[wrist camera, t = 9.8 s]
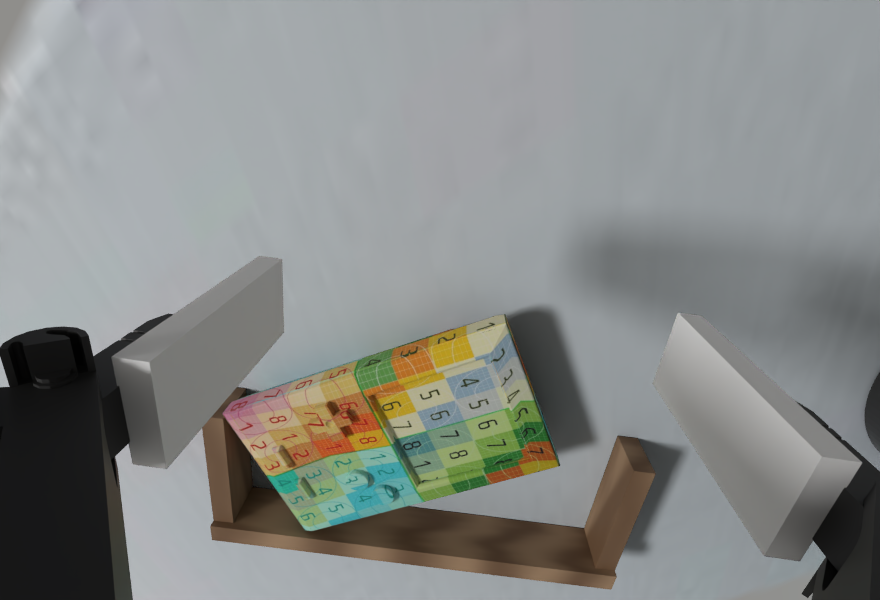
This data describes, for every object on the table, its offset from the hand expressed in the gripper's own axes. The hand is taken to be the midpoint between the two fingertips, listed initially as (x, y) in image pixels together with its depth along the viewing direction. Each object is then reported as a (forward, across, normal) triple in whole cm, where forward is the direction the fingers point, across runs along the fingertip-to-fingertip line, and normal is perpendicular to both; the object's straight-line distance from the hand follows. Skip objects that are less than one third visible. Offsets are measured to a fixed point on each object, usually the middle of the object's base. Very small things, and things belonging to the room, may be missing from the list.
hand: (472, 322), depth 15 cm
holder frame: (+14, +1, +20) cm, 25 cm away
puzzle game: (+14, +4, +14) cm, 21 cm away
